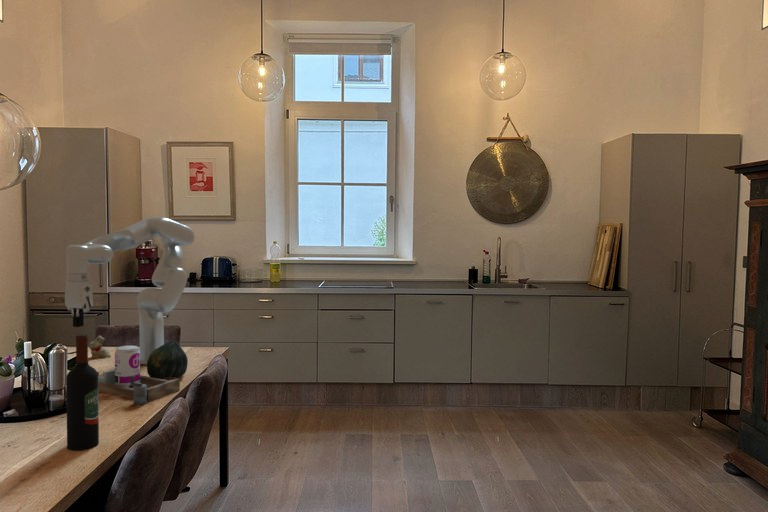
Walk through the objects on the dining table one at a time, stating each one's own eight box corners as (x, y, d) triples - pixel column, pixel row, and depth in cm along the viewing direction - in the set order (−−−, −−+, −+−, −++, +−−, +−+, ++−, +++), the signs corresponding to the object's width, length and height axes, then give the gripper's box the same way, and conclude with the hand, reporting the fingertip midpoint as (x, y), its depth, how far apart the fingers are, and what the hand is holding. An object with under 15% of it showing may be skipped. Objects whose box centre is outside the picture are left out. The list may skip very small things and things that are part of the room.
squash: (133, 364, 210) (153, 338, 205) (164, 357, 224) (183, 332, 219) (152, 393, 206) (173, 367, 201) (183, 384, 219) (202, 359, 215)
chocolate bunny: (97, 355, 244) (97, 332, 243) (112, 356, 242) (112, 334, 241) (87, 358, 239) (87, 335, 238) (102, 359, 237) (102, 336, 236)
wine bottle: (75, 439, 152) (73, 332, 150) (103, 439, 153) (102, 332, 151) (61, 451, 145) (59, 338, 143) (91, 450, 145) (90, 338, 143)
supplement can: (145, 386, 201) (144, 346, 200) (127, 393, 193) (127, 351, 192) (127, 383, 203) (127, 344, 202) (109, 390, 196) (109, 348, 195)
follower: (101, 376, 210) (101, 361, 210) (128, 382, 205) (128, 366, 204) (77, 383, 201) (77, 367, 201) (105, 389, 196) (105, 372, 195)
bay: (127, 380, 208) (127, 357, 207) (182, 390, 197) (182, 366, 197) (82, 394, 190) (82, 369, 190) (139, 406, 180) (139, 379, 179)
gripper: (101, 278, 206) (101, 326, 207) (73, 275, 212) (73, 323, 213) (83, 280, 199) (83, 330, 200) (55, 277, 205) (55, 326, 206)
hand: (78, 326), depth 207 cm, fingers closed
